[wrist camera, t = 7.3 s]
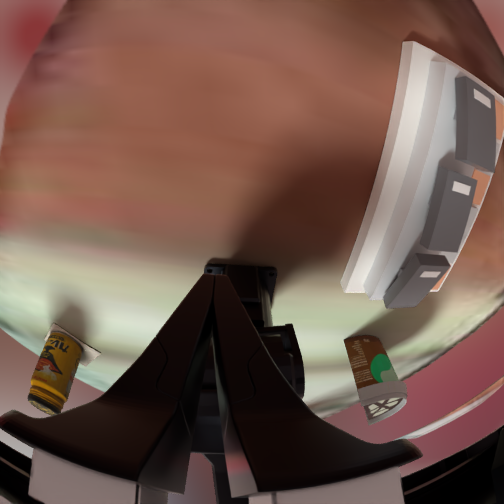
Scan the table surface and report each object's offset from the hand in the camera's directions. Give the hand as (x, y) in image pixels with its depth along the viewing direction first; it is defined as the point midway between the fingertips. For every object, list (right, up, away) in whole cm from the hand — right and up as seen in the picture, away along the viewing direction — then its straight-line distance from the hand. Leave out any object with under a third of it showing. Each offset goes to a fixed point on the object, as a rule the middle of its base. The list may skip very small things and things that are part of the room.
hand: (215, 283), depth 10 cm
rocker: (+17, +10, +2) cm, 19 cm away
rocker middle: (+16, +4, +6) cm, 18 cm away
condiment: (-26, -13, +24) cm, 38 cm away
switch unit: (+18, +7, +11) cm, 22 cm away
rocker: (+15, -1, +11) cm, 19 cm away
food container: (+18, -12, +25) cm, 33 cm away
